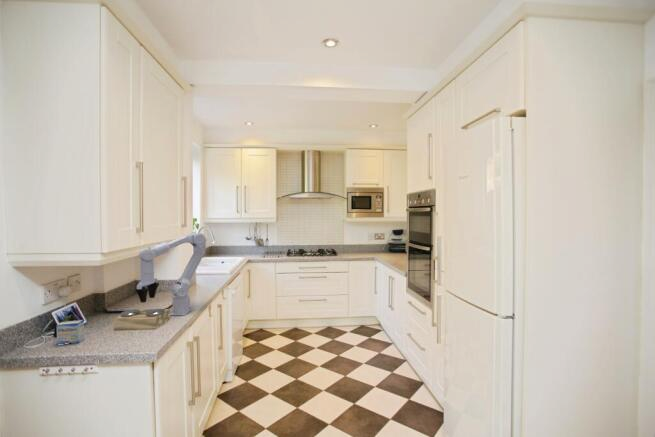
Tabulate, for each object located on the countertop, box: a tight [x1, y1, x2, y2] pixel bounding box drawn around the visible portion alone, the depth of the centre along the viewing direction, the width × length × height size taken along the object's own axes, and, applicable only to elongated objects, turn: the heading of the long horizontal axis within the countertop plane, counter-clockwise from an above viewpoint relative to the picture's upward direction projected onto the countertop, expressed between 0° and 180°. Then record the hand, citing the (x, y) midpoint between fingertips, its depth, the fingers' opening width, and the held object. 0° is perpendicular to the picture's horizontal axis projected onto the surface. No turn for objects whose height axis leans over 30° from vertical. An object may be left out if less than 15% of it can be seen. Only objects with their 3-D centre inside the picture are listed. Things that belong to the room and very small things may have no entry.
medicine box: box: [56, 319, 85, 345], centre depth 127 cm, size 8×4×9 cm, turn 106°
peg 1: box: [119, 308, 141, 317], centre depth 147 cm, size 8×8×5 cm
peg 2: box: [146, 308, 165, 317], centre depth 147 cm, size 8×8×5 cm
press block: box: [113, 308, 171, 331], centre depth 147 cm, size 13×19×5 cm
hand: (147, 299), depth 151 cm, fingers open, 7 cm apart
